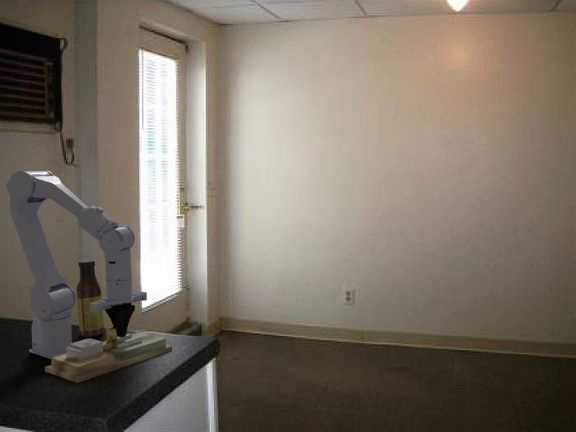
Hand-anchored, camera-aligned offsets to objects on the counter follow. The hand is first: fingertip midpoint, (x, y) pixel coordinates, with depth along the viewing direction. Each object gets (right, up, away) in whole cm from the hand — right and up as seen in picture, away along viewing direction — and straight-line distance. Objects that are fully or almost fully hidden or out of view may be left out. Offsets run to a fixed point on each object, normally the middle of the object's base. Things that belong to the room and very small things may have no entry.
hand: (120, 336), depth 136 cm
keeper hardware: (-3, -2, -3) cm, 5 cm away
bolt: (-3, -2, -4) cm, 6 cm away
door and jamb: (-2, -5, -2) cm, 6 cm away
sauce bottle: (-13, -4, +19) cm, 24 cm away
